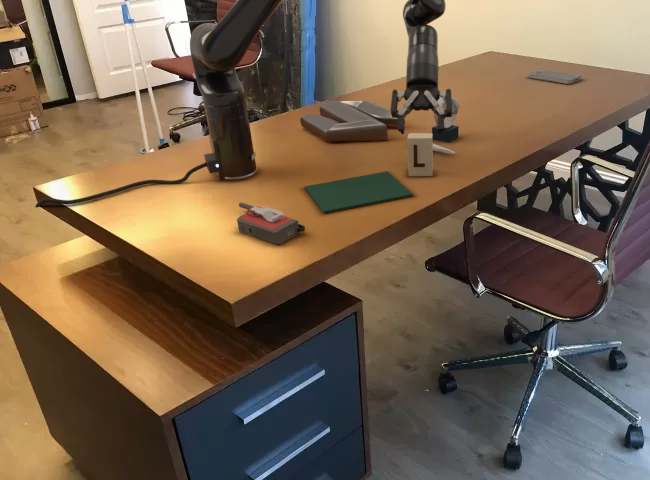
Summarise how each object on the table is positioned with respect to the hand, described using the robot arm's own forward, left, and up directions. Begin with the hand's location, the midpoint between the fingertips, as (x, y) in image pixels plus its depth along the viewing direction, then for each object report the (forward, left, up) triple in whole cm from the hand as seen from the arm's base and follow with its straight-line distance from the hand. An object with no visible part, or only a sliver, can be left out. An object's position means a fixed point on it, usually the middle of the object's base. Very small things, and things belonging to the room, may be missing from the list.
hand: (420, 132), depth 151 cm
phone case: (+72, +45, -8) cm, 86 cm away
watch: (+14, +17, -9) cm, 24 cm away
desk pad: (-19, -7, -9) cm, 22 cm away
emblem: (-5, +37, -9) cm, 38 cm away
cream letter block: (-2, -3, -9) cm, 9 cm away
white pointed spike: (+9, +13, -7) cm, 17 cm away
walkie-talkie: (-42, -15, -9) cm, 45 cm away
